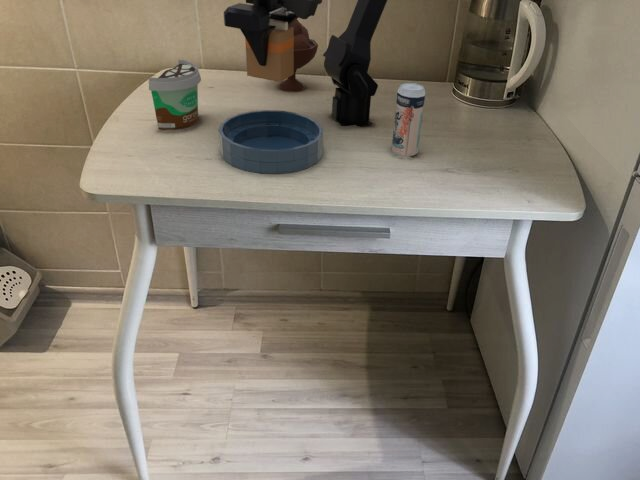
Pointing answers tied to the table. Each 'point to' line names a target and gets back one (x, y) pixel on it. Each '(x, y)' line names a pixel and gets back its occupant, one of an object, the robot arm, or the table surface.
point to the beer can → (408, 119)
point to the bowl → (271, 141)
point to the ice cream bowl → (299, 55)
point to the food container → (176, 96)
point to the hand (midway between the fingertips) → (270, 61)
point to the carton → (274, 54)
